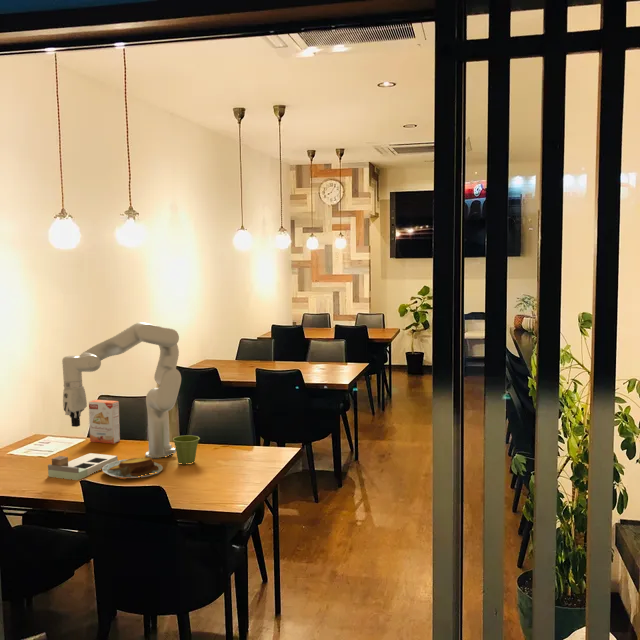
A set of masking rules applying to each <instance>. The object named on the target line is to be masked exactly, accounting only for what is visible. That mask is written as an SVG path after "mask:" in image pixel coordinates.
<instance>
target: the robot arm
mask: <svg viewBox="0 0 640 640" xmlns="http://www.w3.org/2000/svg"><path fill="white" fill-rule="evenodd" d="M179 335H180V334H179V333H178V331H177V330H176V329H173V328H170V327H166V326H160V325H159V326H158V325H155V324H151V323H147V322H144V321H143V322H136V323H134V324H132V325H131V326H129V327H127V328H125V329H124V330H123V331H121V332H119V333H118V334H116V335H113V336H112V337H110V338H108V339H106V340H104V341H102V342H100V343H97V344H96V345H93V346H92V347H90V348H89V349H87V350H84V351H83V352H82V353H80V354H79V355H68V356H64V357H63V358H62V363H61V364H62V376H63V395H62V404H63V405H62V407H63V412H64V413H65V416H69V417H70V421H71V427H76V428H77V427H80V426H81V421H80V419H81V416H82V415H81V414H82V412H83V411H85V409H86V408H87V406H88V404H87V403H88V401H87V394H86V390H85V387H84V385H83V374H82V373H85V372H86V373H92V372H96V371H98V370H99V369H100V368H101V365H102V360H105V359H108V358H109V357H110V358H111V357H114V356H119V355H121V354H124V353H126V352H127V351H129V350H130V349H132V348H134V347H135V346H137V345H139V344H140V343H142V342H143V343H146V344H151V345H156V346H158V347H159V351H160V352H159V356H158V357H159V358H158V362H157V364H156V367H155V368H156V369H155V373H154V377H153V379H154V381H155V383H157V384H158V385H159V386H158V387H154V388H153V387H152V388H151V389H150V390H149V391H147V393H146V396H145V404H146V405H145V406H146V409H147V410H146V411H147V428H148V429H147V436H148V437H147V438H148V451H146V452H145V458H146V457H151V458H152V459H160V458H159V457H165V456H168V455H171V454H172V453H173V454H177V452H176V447H172V444H170V417H169V415H170V414H169V411H171V410H172V409H173V408H174V406H175V404H176V403H177V399H178V395H179V391H180V388H181V384H182V375H181V372H180V371H179V369H177V366H178V360H179V355H180V354H179V353H180V351H179V350H180V348H179V346H178V343H179V340H180V336H179ZM171 456H172V455H171ZM165 458H166V457H165Z"/></svg>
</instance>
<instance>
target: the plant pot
mask: <svg viewBox="0 0 640 640" xmlns="http://www.w3.org/2000/svg"><path fill="white" fill-rule="evenodd" d="M200 439H201V438H200V437H199V436H198V435H187V434H186V435H179V436H175V437H173V438H172V441H173V443H174V446H175V447H174V448H176V457H177V463H178V464H179V463H182V464H186V463H192V462H194V461H195V460H196V456H197V455H196V454H197V450H198V445H199V440H200ZM195 462H196V461H195ZM195 462H194V463H195Z"/></svg>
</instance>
